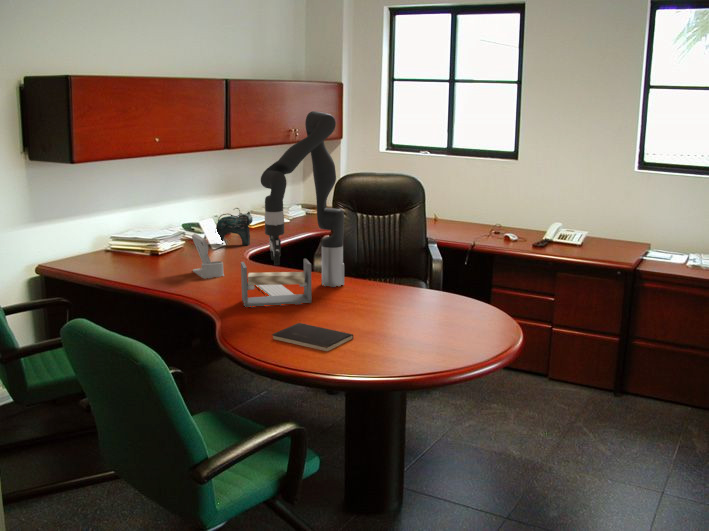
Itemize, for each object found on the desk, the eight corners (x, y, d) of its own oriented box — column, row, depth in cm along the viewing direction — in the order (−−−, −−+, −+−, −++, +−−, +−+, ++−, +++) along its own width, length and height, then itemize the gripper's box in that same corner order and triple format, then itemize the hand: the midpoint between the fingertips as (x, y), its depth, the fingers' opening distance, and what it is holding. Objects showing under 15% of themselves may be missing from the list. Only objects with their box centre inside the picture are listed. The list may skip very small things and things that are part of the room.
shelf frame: (306, 296, 316) (306, 258, 312) (311, 303, 306) (311, 264, 303) (242, 300, 310) (240, 262, 306) (244, 307, 300) (243, 267, 296)
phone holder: (225, 276, 348) (224, 237, 343) (203, 279, 343) (202, 239, 339) (212, 268, 362) (211, 230, 358) (191, 270, 358) (189, 232, 353)
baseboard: (266, 301, 312) (294, 298, 317) (266, 294, 311) (294, 291, 316) (244, 282, 339) (270, 280, 344) (244, 276, 338) (270, 273, 343)
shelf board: (304, 280, 310) (304, 271, 309) (304, 284, 304) (304, 275, 303) (248, 281, 308) (248, 272, 307) (248, 285, 302) (248, 276, 302)
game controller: (253, 244, 415) (252, 207, 411) (249, 246, 409) (248, 209, 404) (218, 242, 419) (217, 206, 414) (214, 245, 413) (212, 208, 408)
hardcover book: (326, 353, 252) (326, 346, 252) (271, 340, 265) (271, 334, 264) (353, 340, 266) (353, 333, 265) (299, 328, 278) (299, 322, 277)
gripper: (262, 219, 306) (263, 259, 310) (267, 226, 293) (268, 267, 297) (281, 218, 308) (282, 257, 312) (286, 225, 295) (287, 266, 299)
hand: (275, 262), depth 304 cm, fingers open, 8 cm apart
